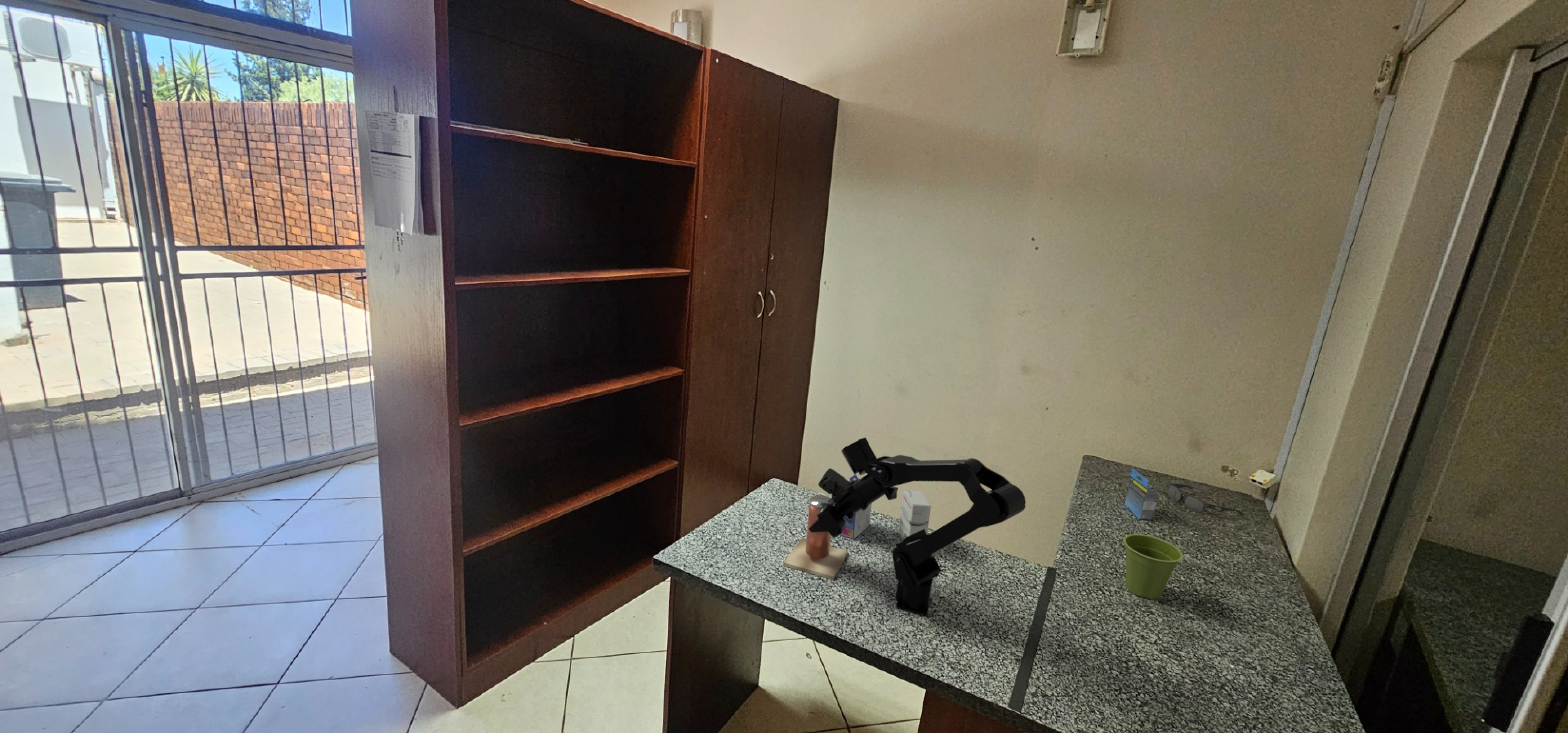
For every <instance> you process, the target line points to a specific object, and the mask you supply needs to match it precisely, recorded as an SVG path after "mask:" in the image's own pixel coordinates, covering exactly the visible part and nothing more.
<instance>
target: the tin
mask: <svg viewBox="0 0 1568 733" xmlns="http://www.w3.org/2000/svg"><path fill="white" fill-rule="evenodd" d="M831 498H832V497H830V496H828V495H821V494H820V495H819V494H818V495H813V496H811V497H810V498H809V501H808V502H809V505H808V516H807V517H808V518H807V526H806V528H807V530H806V539H805V540H806V550H805V551H806V553H807V554H808V555H809V556H811V557H814V558H824V557H827V556H828V555H829V550H830V546H831V537H832V536H831V535H830V533H829V532H810V530H809V527H810V526H811V525H812V524H813V523H814V522H815V521H816V520H817V519H818V516H817V514H818V513H819V512H820V510H821V509H822V507H823V506H824V507H825V506H826V505H832V506H833V505H834V500H833V499H831Z"/></svg>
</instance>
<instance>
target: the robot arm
mask: <svg viewBox="0 0 1568 733" xmlns="http://www.w3.org/2000/svg"><path fill="white" fill-rule="evenodd" d="M840 451H841V452H840V453H842V455H843V457H844V459H845V461H846V462H847V464H848V465H849V468H850V470H851V471H852V473H853V476H854V475H855V474H856V475H857V474H858V475H859V476H861V478H859V480H858V481H857V480H854V479H853V481H850V480H847V478H846V477H845V476H843V475H841V474H840V473H839V472H837V471H836V470H835V469H832V468H828V469H827V470H826V471H825V473H824V474H823V476H822V478H821V479H820V480H819V482H818V486H819V487H820V488H821V490H823V491H824V492H826V493H827V494H828V495H831V497H830V498H831V499H833V500H834V505H833V506H832V505H826V506H825V507H824V506H823V507H822V509H821V510H820V512H819V513H818V514H817V516H818V519H817V520H816V521H815V522H814V523H813V524H812V525H811V526H810V527H809V530H810V532H829V533H830V535H831V537H832V538H833V539H835V538H837V537H838V536H840V535H841V533H842V532H843V530H844V528H845V525H846V521H845V520H844V519H843V518H844V516H845V515H846V516H847V517H848V518H849V520H850V519H851V518H853V516H854V515H855V513H857V512H858V511H860V510H861V509H862V510H863V511H864V510H865V509H867V507H868V506H869V504H871V503H874V502H876V501H877V500H878V499H880V498H882V497H883V496H885V497H886V499H887V500H888V501H893V500H896V499H897V498H898V490H899V487H897V486H899V485H903V484H908V483H911V482H949V483H951V482H954V483H955V482H957V483H959V484H961V485H962V487H963V488H964V490H965V492H966V494H967V496H968V498H969V500H970V501H971V502H972V505H971V507H969V509H968V510H967V511H966V512H964V513H962V514H961V515H959V516H957V517H956V518H954V519H952V520H951V521H949V522H947V523H946V524H944V525H942V526H940V527H939V528H937V529H936V530H934V531H932V532H931V533H929V534H928V533H927V534H926V532H925V529H923V530H920V531H918V532H916V533H914V534H912V535H910V536H908V537H906V538H905V539H904V540H903V539H902V540H900V541H897V542H896V543H894V545H895V546H896V547H894V548H893V549H892V562H893V568H894V573H895V574H894V575H895V579H896V580H897V585H896V592H895V600H896V604H895V608H897V609H900V610H903V611H904V610H905V611H908V612H911V613H914V614H918V615H922V616H928V613H929V609H930V604H931V601H932V597H931V596H932V595H931V594H932V588H933V581H934V580H933V579H935V578H938V577H939V575H940V574H941V572H942V568H941V566H940V564H939V563H938V561H937V559H936V557H938V555H939V553H940V551H941V550H943V549H944V548H946V547H948V546H950V545H952V544H953V543H956V542H958V541H959V540H961V539H963V538H964V537H965V536H968V535H969V534H971V533H973V532H975V531H977V530H979V529H980V528H986V527H987V528H988V527H991V526H993V525H998V524H1001V523H1004V522H1006V521H1008V520H1009V519H1011V518H1013V517H1015V516H1016V515H1019V514H1020V513H1022V512H1024V510H1025V509H1026V496H1025V494H1024V493H1023V491H1022V490H1021V489H1020V487H1018V486H1016V485H1015V484H1012V483H1011V482H1010V481H1009V480H1008V479H1007V478H1006V477H1005V476H1003V475H1001V474H1000V473H999V472H996V471H994V470H992V469H991V468H990V467H989V468H988V467H987V465H985V464H983V463H982V461H980V460H978V459H977V458H973V457H972V458H967V459H940V460H939V459H933V460H932V459H931V460H920V459H916V458H915V457H913V456H907V455H902V454H898V455H895V456H888V455H883V456H880V457H877V456H876V454H875V452H874V450H873V449H872V448H871V446H870V443H869V441H868V439H867V437H862V438H859V439H857V441H856V440H855V441H854V442H852V443H851V444H849V445H846V446H845V447H843V448H842V449H841V450H840ZM862 475H864V476H862ZM983 486H985V488H988V489H990V490H988V491H987V490H986V489H985V488H984V487H983ZM819 487H818V488H819Z"/></svg>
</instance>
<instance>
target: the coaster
mask: <svg viewBox="0 0 1568 733" xmlns="http://www.w3.org/2000/svg"><path fill="white" fill-rule="evenodd" d="M805 550H806V539H804V538H800V540H799V541H798V542H797V544H796V545H795V546H794V548H793V549H792V551H791V552H790V553H789V554H788V556H787V558H786V559H785V560H784V562H783V566H784V567H787V568H791V569H794V570H798V571H801V572H805V573H808V574H813V575H816V576H819V577H823V578H826V579H829V580H834V579H835V578H836V575H837V574H838V572H839V570H840V568H841V567H842V565H843V563H844V561H845V559H846V557H847V556H848V553H849V550H846V549H842V548H838V547H834V546H831V545H830V550H829V555H828V556H827V557H824V558H814V557H811V556H809V555H808V554H807V553H806V551H805Z"/></svg>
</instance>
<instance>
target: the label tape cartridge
mask: <svg viewBox="0 0 1568 733" xmlns="http://www.w3.org/2000/svg"><path fill="white" fill-rule="evenodd" d="M1139 478H1140V479H1139ZM1128 484H1129V485H1128V487H1127V492H1126V498H1125V502H1124V506H1125V505H1126V506H1127V507H1126V508H1127V509H1128V508H1129V509H1128V510H1129V511H1130V512H1131V513H1133V514H1134V515H1135V516H1136V517H1137V518H1138V519H1139V520H1146V521H1148V520H1149V521H1151V520H1153V516H1154V512H1155V508H1156V504H1157V501H1158V497H1159V494H1158V493H1157V492H1156V491H1154V490H1153V489H1152V488H1151V487H1150V486H1149V479H1148V478H1147V477H1145V476H1143V475H1142V474H1141V473H1139V472H1138V471H1137V470H1136V469H1134V468H1133V467H1132V470H1131V474H1130V479H1129V483H1128Z"/></svg>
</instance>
